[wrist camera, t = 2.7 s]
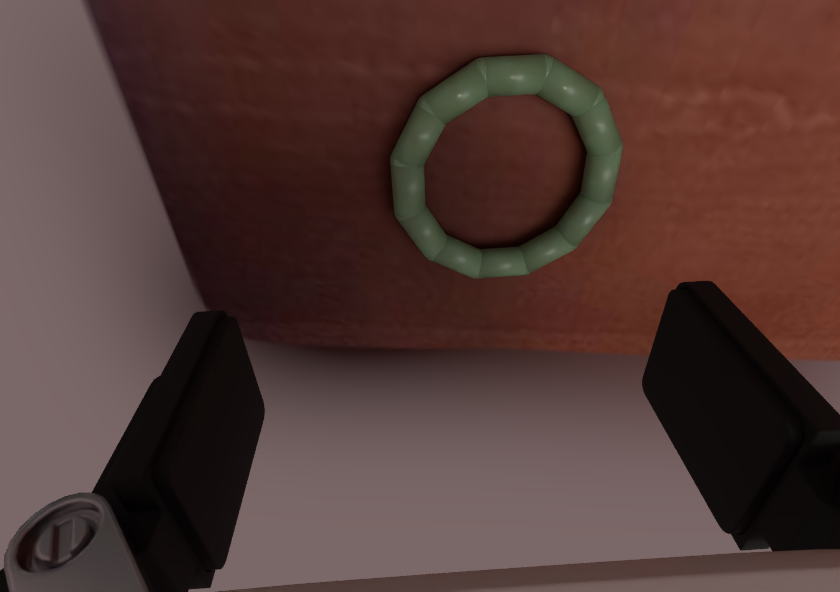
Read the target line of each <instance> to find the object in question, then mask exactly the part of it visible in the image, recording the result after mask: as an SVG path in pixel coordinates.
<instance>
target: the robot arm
mask: <svg viewBox="0 0 840 592" xmlns="http://www.w3.org/2000/svg"><path fill="white" fill-rule="evenodd" d="M642 386H643V391H644V393H645V396H646V397H647V399H648V400H649V403H650V404H651V406H652V408H653V410H654V411H655V413H656V415H657V417H658V419H659V420H660V422H661V424H662V426H663V427H664V429H665V431H666V433H667V434H668V436H669V438H670V440H671V441H672V443H673V445H674V447H675V449H676V450H677V452H678V454H679V456H680V457H681V459H682V461H683V463H684V464H685V466H686V468H687V470H688V472H689V473H690V475H691V477H692V478H693V480H694V482H695V484H696V486H697V487H698V489H699V491H700V493H701V495H702V496H703V498H704V500H705V501H706V503H707V505H708V507H709V509H710V510H711V512H712V514H713V516H714V518H715V519H716V521H717V523H718V524H719V526H720V527H721V529H722V530H723V531H724V532H726V533H728V534H731V535H732V536H733V538H734V540H735V542H736V543H737V545H738V547H739V549H740V550H753V549H768V548H769V547H770V548H771V550H772V552H751V553H731V554H716V555H702V556H686V557H670V558H656V559H640V560H624V561H610V562H595V563H580V564H565V565H551V566H537V567H522V568H508V569H494V570H480V571H467V572H452V573H438V574H425V575H412V576H400V577H385V578H372V579H359V580H345V581H333V582H319V583H306V584H294V585H283V586H272V587H262V588H252V589H241V590H229V591H219V592H840V415H839V413H838V412H837V411H836V410H835V409H833V407H832V406H831V405H830V404H829V403H828V402H827V401H826V400H825V399H824V398H823V397H822V396H821V395H820V394H819V393H818V392H817V391H816V389H815V388H814V387H813V386H812V385H811V384H810V383H809V382H808V381H807V380H806V379H805V378H804V377H803V376H802V375H801V374H800V373H799V372H798V371H797V370H796V368H795V367H794V366H793V365H792V364H791V363H790V362H789V361H788V360H787V359H786V358H785V357H784V356H783V355H782V354H781V353H780V352H779V351H778V350H777V349H776V347H775V346H774V345H773V344H772V343H771V342H770V341H769V340H768V339H767V338H766V337H765V336H764V335H763V334H762V333H761V332H760V331H759V330H758V329H757V328H756V327H755V326H754V324H753V323H752V322H751V321H750V320H749V319H748V318H747V317H746V316H745V315H744V314H743V313H742V312H741V311H740V310H739V309H738V308H737V307H736V306H735V305H734V304H733V303H732V301H731V300H730V299H729V298H728V297H727V296H726V295H725V294H724V293H723V292H722V291H721V290H720V289H719V288H718V287H717V286H716V285H715V284H714V283H713V282H711V281H696V282H683V283H680V284H679V285H678V286H677V288H676V289H674V290H671V292H670V293H669V295H668V298H667V301H666V304H665V308H664V311H663V314H662V317H661V320H660V324H659V327H658V330H657V333H656V336H655V340H654V343H653V346H652V349H651V352H650V356H649V359H648V362H647V365H646V369H645V372H644V375H643V379H642ZM264 409H265V408H264V402H263V399H262V396H261V393H260V390H259V387H258V384H257V381H256V378H255V374H254V372H253V368H252V365H251V362H250V359H249V356H248V353H247V350H246V347H245V344H244V341H243V338H242V335H241V331H240V328H239V325H238V322H237V320H236V318H235V317H228V315H227V313H226V312H225V311H223V310H222V311H205V312H196V313H194V315H193V316H192V318H191V319H190V321H189V323H188V325H187V327H186V329H185V331H184V333H183V334H182V336H181V338H180V340H179V342H178V344H177V346H176V348H175V349H174V351H173V353H172V355H171V357H170V359H169V361H168V363H167V365H166V366H165V368H164V370H163V372H162V374H161V376H159V377H157V378H156V379H154V381H153V382H152V383H151V385H150V387H149V388H148V390H147V392H146V394H145V396H144V398H143V399H142V401H141V403H140V405H139V407H138V409H137V410H136V412H135V414H134V416H133V418H132V420H131V421H130V423H129V425H128V427H127V429H126V431H125V432H124V435H123V436H122V438H121V440H120V442H119V443H118V445H117V447H116V449H115V451H114V453H113V454H112V456H111V458H110V460H109V462H108V464H107V465H106V467H105V469H104V471H103V473H102V475H101V476H100V479H99V480H98V482H97V484H96V486H95V487H94V490H93V491H92V493H77V494H73V495H69V496H65V497H63V498H61V499H59V500H56V501H54V502H52V503H50V504H48V505H47V506H45V507H44V508H42V509H41V510H40V511H38V512H36V513H35V514H34V515H33V516H31V517H30V518H29V519H28V520H27V521H26V522H25V523H24V524H23V525H22V526H21V527H20V528H19V530H18V531H17V532H16V534H15V535H14V537H13V538H12V540H11V541H10V543H9V546H8V548H7V550H6V553H5V555H4V568H3V569H2V570H1V571H0V592H188V590H189V589H199V588H210V587H211V584H212V580H213V576H214V573H215V569H221V568H222V567H223V566H224V564H225V562H226V559H227V555H228V552H229V547H230V544H231V540H232V537H233V533H234V529H235V525H236V522H237V518H238V514H239V510H240V507H241V503H242V499H243V495H244V492H245V488H246V484H247V480H248V477H249V473H250V469H251V465H252V462H253V458H254V454H255V450H256V446H257V442H258V439H259V435H260V432H261V428H262V424H263V420H264V413H265V410H264Z"/></svg>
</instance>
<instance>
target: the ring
mask: <svg viewBox="0 0 840 592" xmlns="http://www.w3.org/2000/svg"><path fill="white" fill-rule="evenodd" d="M528 94H536V95H538V96H539V97H541V98H543V99H544V100H546V101H548V102H550V103H551V104H553V105H555V106H556V107H558V108H560V109H561V110H563V111H565V112H567V113H568V114H570V115H571V116H572V118H573V120H574V122H575V125H576V127H577V129H578V132H579V134H580V136H581V139H582V141H583V143H584V145H585V148H586V150H587V156H586V162H585V168H584V174H583V181H582V187H581V192H580V194H579V195H578V196H577V198H576V199H575V200H574V202H573V203H572V204H571V206H570V207H569V208H568V210H567V211H566V212H565V214H564V215H563V217H562V218H561V219H560V221H559V222H558V223H557V225H556V226H555V227H553V228H551V229H549V230H548V231H546V232H544V233H542V234H540V235H538V236H537V237H535V238H533V239H531V240H529V241H528V242H526V243H524V244H522V245H520V246H517V247H503V248H489V249H478V248H476V247H473V246H471V245H469V244H467V243H464V242H462V241H460V240H458V239H455V238H453V237H451V236H449V235H446V234H445V232H444V231H443V229H442V228H441V227H440V225H439V224H438V222H437V221H436V219H435V218H434V216H433V215H432V214H431V212H430V211H429V209H428V208H427V206H426V205H425V180H424V164H425V162H426V160H427V158H428V157H429V155H430V153H431V151H432V149H433V147H434V145H435V144H436V142H437V140H438V138H439V136H440V134H441V132H442V131H443V129H444V127H445V125H446V124H447V123H449V122H450V121H452V120H453V119H455V118H456V117H458V116H459V115H461V114H462V113H464V112H465V111H467V110H468V109H470V108H471V107H473V106H475V105H476V104H478V103H479V102H481V101H482V100H484V99H485V98H487V97H495V96H512V95H528ZM622 151H623V142H622V139H621V136H620V134H619V131H618V128H617V126H616V123H615V121H614V118H613V115H612V113H611V110H610V108H609V105H608V102H607V100H606V97H605V95H604V92H603V90H602V89H601V88H600V87H599V86H598V85H597V84H595V83H594V82H592V81H590V80H589V79H587V78H586V77H584V76H582V75H581V74H579V73H578V72H576V71H574V70H573V69H571V68H570V67H568V66H566V65H565V64H563V63H562V62H560V61H558V60H557V59H555V58H554V57H552V56H550V55H547V54H531V55H514V56H496V57H481V58H477V59H475V60H474V61H472V62H471V63H469V64H468V65H466V66H465V67H463V68H462V69H460V70H459V71H457V72H456V73H454V74H453V75H452V76H450V77H449V78H447V79H446V80H444V81H443V82H441V83H440V84H438V85H437V86H435V87H434V88H432V89H431V90H430V91H428V92H427V93H425V94H424V95H422V96H421V97H420V98H419V100H418V101H417V103H416V105H415V107H414V109H413V111H412V113H411V115H410V117H409V119H408V121H407V123H406V125H405V127H404V129H403V131H402V133H401V136H400V138H399V140H398V142H397V144H396V146H395V148H394V150H393V152H392V154H391V158H390V165H391V178H392V191H393V204H394V214H395V217H396V218H397V220H398V221H399V223H400V224H401V225H402V227H403V228H404V229H405V231H406V232H407V233H408V235H409V236H410V237H411V239H412V240H413V241H414V243H415V244H416V245H417V247H418V248H419V249H420V251H421V252H422V253H423V255H424V256H425V257H426V258H427V259H429V260H431V261H433V262H435V263H438V264H440V265H443V266H445V267H447V268H450V269H452V270H455V271H457V272H459V273H462V274H464V275H467V276H469V277H472V278H490V277H504V276H518V275H527V274H529V273H531V272H533V271H535V270H537V269H539V268H541V267H543V266H545V265H546V264H548V263H550V262H552V261H554V260H556V259H558V258H560V257H561V256H563V255H565V254H567V253H569V252H571V251H573V250H574V249H576V248H577V247H578V246H579V244H580V243H581V242H582V240H583V239H584V238H585V237H586V235H587V234H588V233H589V232H590V230H591V229H592V228H593V226H594V225H595V224H596V223H597V221H598V220H599V219H600V218H601V216H602V215H603V214H604V212H605V211H606V210H607V209H608V207H609V206H610V205H611V203H612V200H613V195H614V190H615V185H616V180H617V175H618V170H619V165H620V160H621V155H622Z"/></svg>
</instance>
